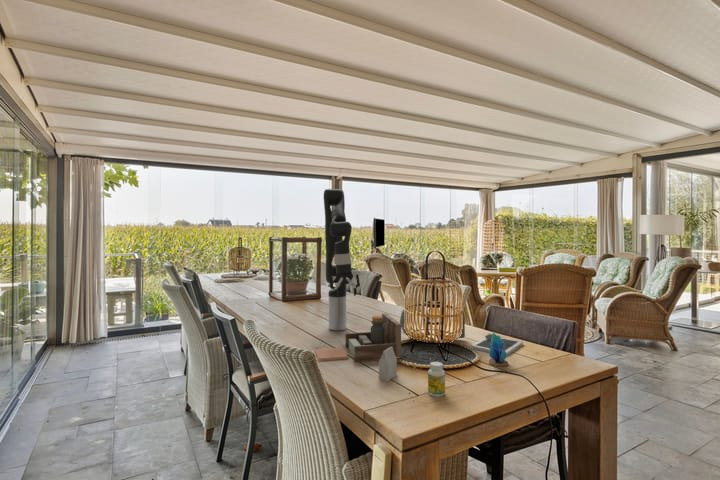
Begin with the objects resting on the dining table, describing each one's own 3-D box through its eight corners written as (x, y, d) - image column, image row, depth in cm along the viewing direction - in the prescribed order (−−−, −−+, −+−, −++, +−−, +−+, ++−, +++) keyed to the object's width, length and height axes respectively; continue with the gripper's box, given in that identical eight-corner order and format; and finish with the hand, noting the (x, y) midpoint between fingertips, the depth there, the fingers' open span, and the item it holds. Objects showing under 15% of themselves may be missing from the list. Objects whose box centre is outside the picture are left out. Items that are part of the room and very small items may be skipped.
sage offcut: (348, 349, 174) (348, 339, 173) (355, 348, 174) (355, 338, 174) (356, 359, 160) (356, 348, 160) (363, 359, 161) (363, 348, 161)
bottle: (380, 354, 165) (380, 319, 165) (368, 352, 168) (368, 317, 168) (386, 351, 170) (386, 316, 170) (374, 348, 173) (374, 314, 173)
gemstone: (485, 364, 153) (485, 334, 153) (492, 358, 160) (493, 329, 160) (504, 369, 149) (505, 337, 148) (511, 362, 156) (512, 332, 155)
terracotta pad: (315, 351, 169) (315, 349, 169) (342, 349, 172) (342, 347, 172) (318, 361, 157) (318, 358, 157) (348, 358, 160) (348, 356, 160)
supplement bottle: (448, 393, 127) (448, 363, 127) (438, 398, 123) (439, 368, 123) (434, 388, 131) (434, 359, 131) (424, 393, 127) (424, 363, 127)
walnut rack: (345, 346, 177) (345, 315, 176) (386, 343, 181) (386, 313, 181) (355, 362, 156) (355, 326, 156) (401, 358, 161) (401, 324, 160)
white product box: (396, 374, 143) (396, 347, 143) (388, 381, 137) (388, 352, 137) (387, 372, 145) (387, 345, 145) (378, 379, 139) (378, 350, 139)
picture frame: (489, 339, 190) (470, 350, 174) (489, 333, 190) (470, 343, 174) (523, 346, 179) (506, 357, 164) (523, 340, 179) (506, 351, 164)
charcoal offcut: (358, 349, 174) (358, 335, 173) (365, 348, 174) (365, 335, 174) (364, 357, 162) (364, 343, 162) (371, 357, 162) (371, 342, 162)
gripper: (358, 261, 195) (360, 294, 195) (329, 263, 195) (331, 296, 195) (358, 262, 187) (360, 296, 188) (328, 265, 187) (330, 299, 188)
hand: (346, 296), depth 192 cm, fingers open, 8 cm apart
